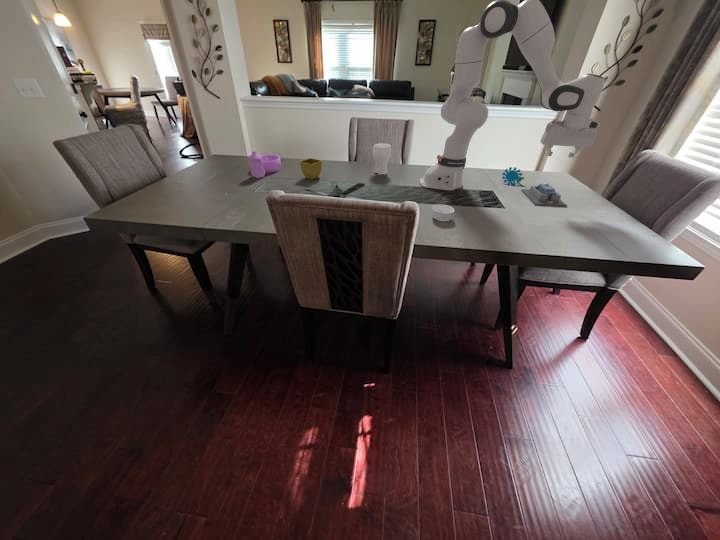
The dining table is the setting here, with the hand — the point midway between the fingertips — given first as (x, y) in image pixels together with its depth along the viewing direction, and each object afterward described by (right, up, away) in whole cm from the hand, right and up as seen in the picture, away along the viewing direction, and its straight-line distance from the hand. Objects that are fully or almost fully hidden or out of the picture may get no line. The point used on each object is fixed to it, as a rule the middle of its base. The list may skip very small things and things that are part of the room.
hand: (559, 156), depth 125 cm
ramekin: (-55, -29, -7) cm, 62 cm away
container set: (-144, +6, +38) cm, 149 cm away
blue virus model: (-6, -3, +28) cm, 29 cm away
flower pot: (-115, +1, +31) cm, 119 cm away
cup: (-77, +6, +39) cm, 86 cm away
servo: (0, -15, +11) cm, 19 cm away
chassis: (0, -16, +12) cm, 19 cm away
